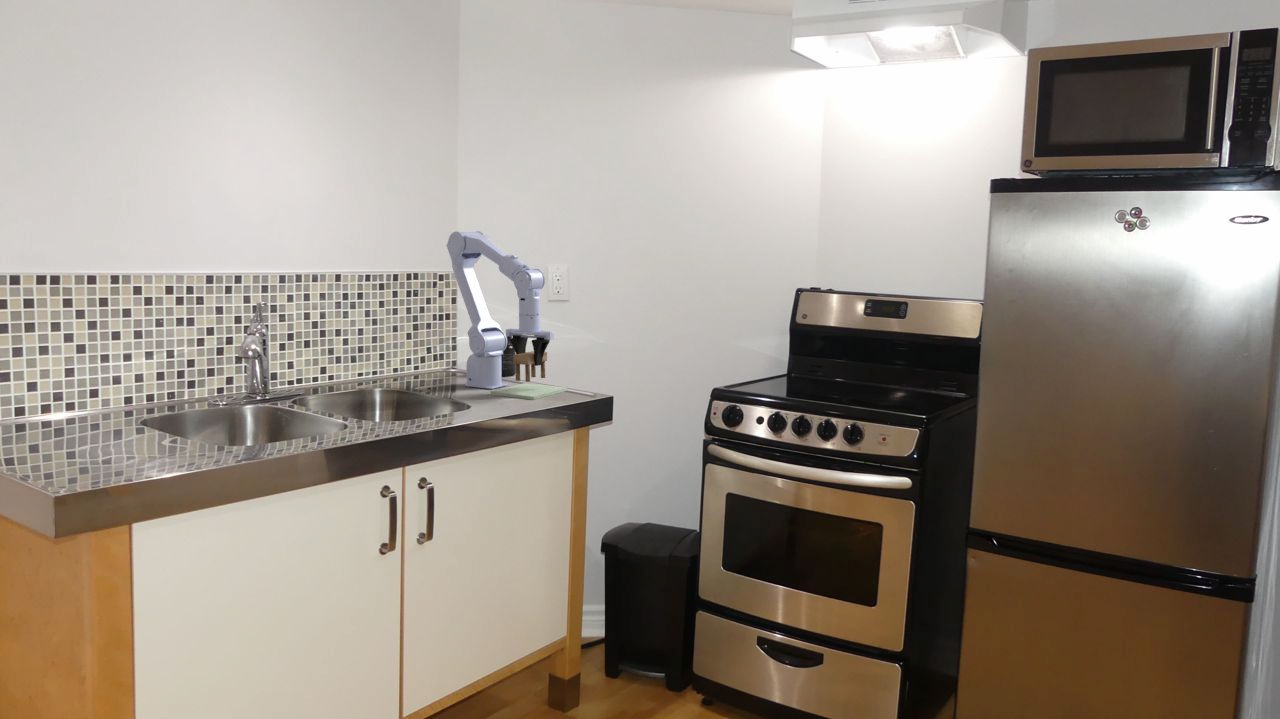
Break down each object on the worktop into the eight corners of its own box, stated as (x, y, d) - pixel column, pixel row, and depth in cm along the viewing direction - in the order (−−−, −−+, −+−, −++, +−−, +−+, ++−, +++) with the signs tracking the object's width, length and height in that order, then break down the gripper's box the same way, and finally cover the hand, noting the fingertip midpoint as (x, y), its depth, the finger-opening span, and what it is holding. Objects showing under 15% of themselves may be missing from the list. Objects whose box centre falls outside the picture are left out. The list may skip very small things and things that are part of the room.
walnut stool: (532, 376, 268) (532, 351, 267) (547, 377, 265) (546, 352, 264) (513, 380, 260) (513, 354, 259) (528, 382, 257) (527, 355, 257)
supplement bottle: (517, 373, 294) (517, 334, 293) (512, 377, 288) (512, 337, 286) (495, 372, 295) (495, 333, 293) (490, 376, 288) (489, 336, 287)
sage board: (490, 394, 260) (490, 391, 260) (525, 385, 274) (525, 382, 274) (533, 399, 253) (533, 396, 253) (566, 390, 267) (566, 387, 267)
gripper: (498, 314, 260) (499, 363, 262) (543, 317, 253) (543, 368, 255) (514, 311, 266) (514, 360, 268) (558, 315, 259) (558, 365, 261)
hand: (529, 364), depth 262 cm, fingers closed on walnut stool, 5 cm apart
